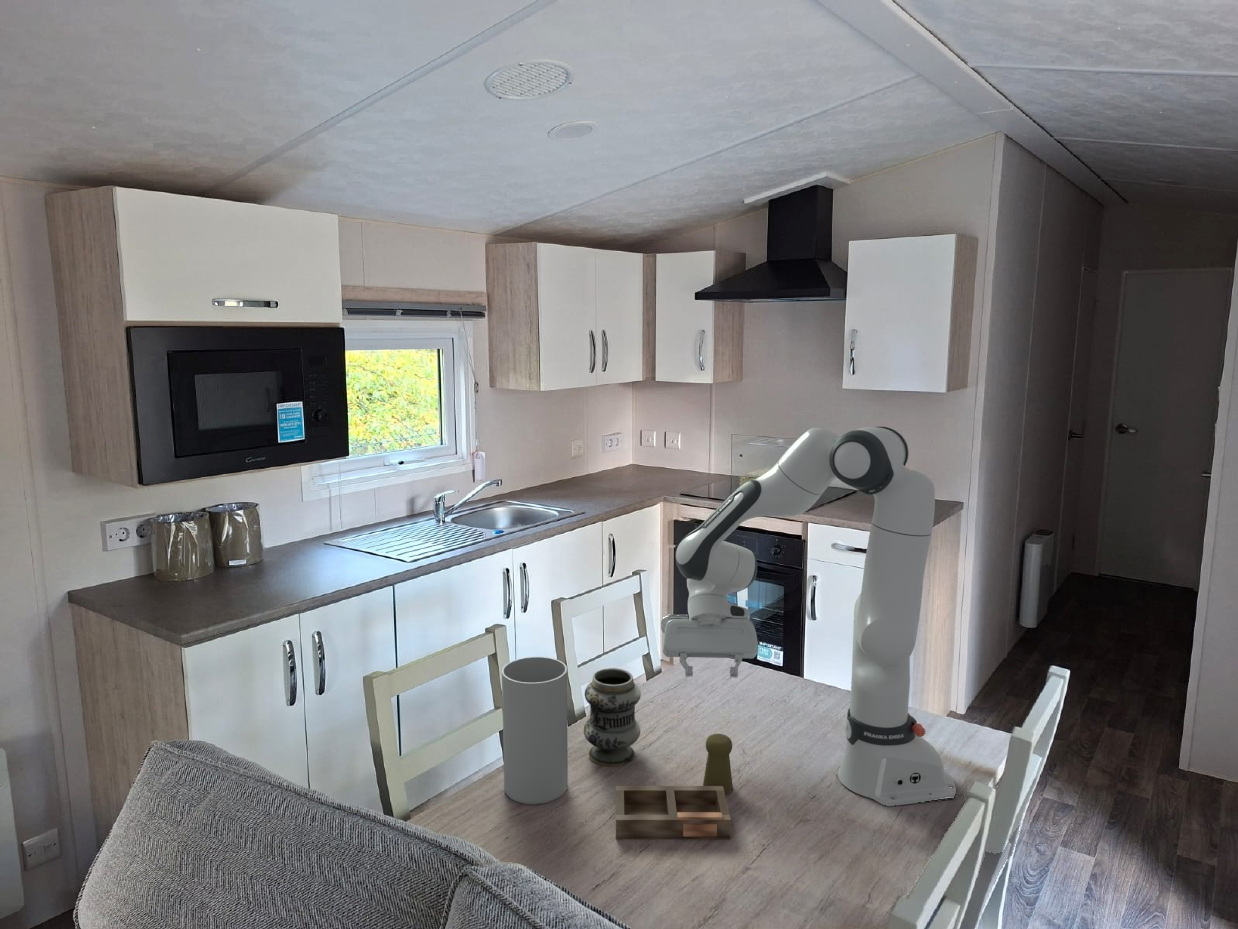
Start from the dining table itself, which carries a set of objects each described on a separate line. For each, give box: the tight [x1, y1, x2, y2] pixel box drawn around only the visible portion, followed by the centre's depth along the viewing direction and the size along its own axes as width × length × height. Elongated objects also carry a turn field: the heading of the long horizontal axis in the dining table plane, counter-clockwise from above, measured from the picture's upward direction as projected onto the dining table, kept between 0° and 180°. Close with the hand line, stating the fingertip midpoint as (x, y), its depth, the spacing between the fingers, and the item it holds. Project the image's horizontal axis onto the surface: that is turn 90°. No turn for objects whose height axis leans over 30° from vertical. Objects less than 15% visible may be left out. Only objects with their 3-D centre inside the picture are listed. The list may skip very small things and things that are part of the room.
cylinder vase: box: [501, 656, 569, 805], centre depth 166 cm, size 12×12×25 cm
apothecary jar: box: [583, 667, 642, 767], centre depth 180 cm, size 12×12×18 cm
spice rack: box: [615, 785, 732, 840], centre depth 157 cm, size 20×11×4 cm, turn 90°
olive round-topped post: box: [702, 733, 734, 797], centre depth 168 cm, size 6×6×11 cm
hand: (711, 676), depth 178 cm, fingers open, 8 cm apart
